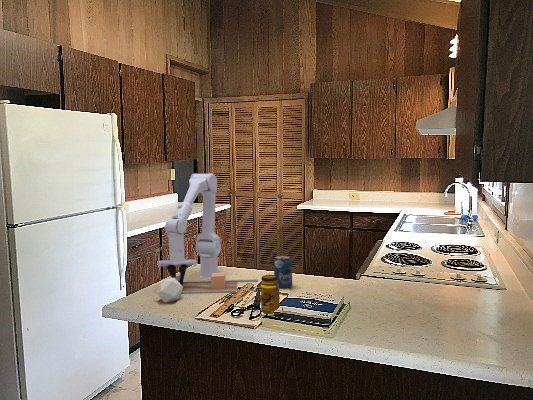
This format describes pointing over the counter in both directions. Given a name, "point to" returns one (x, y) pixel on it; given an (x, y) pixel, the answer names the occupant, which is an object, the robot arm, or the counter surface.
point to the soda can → (283, 271)
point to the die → (169, 290)
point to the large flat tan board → (205, 286)
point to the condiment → (269, 294)
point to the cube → (218, 281)
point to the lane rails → (218, 290)
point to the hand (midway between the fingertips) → (178, 284)
